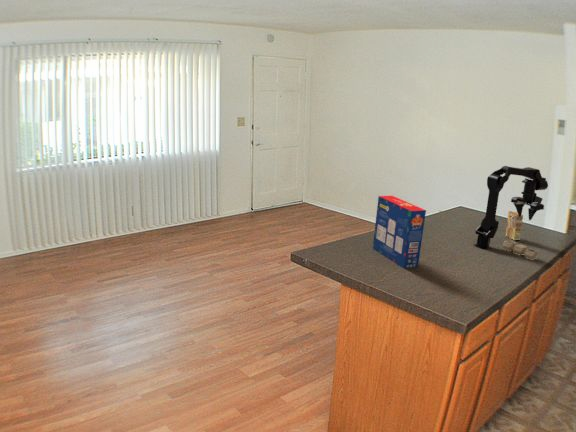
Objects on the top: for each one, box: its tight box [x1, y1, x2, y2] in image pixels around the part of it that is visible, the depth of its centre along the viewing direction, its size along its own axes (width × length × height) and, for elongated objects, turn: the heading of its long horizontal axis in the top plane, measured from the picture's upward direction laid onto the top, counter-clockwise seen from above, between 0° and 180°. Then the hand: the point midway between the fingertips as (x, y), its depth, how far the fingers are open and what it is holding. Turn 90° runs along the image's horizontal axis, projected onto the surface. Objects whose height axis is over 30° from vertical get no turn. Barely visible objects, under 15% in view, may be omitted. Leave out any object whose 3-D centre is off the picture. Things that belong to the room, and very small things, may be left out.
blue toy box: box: [372, 195, 427, 269], centre depth 249 cm, size 28×8×28 cm, turn 22°
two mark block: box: [502, 239, 517, 252], centre depth 275 cm, size 4×4×5 cm
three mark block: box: [523, 248, 540, 259], centre depth 263 cm, size 4×4×5 cm
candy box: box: [505, 210, 524, 241], centre depth 294 cm, size 9×4×15 cm, turn 9°
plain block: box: [512, 244, 528, 255], centre depth 269 cm, size 4×4×4 cm
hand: (524, 218), depth 284 cm, fingers open, 7 cm apart
